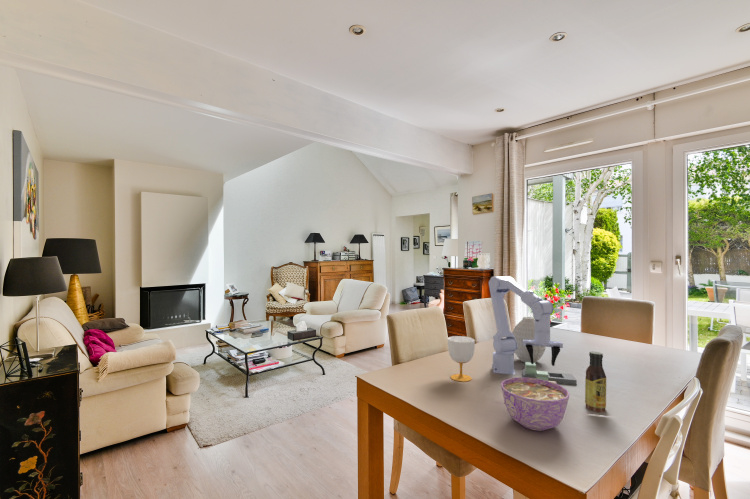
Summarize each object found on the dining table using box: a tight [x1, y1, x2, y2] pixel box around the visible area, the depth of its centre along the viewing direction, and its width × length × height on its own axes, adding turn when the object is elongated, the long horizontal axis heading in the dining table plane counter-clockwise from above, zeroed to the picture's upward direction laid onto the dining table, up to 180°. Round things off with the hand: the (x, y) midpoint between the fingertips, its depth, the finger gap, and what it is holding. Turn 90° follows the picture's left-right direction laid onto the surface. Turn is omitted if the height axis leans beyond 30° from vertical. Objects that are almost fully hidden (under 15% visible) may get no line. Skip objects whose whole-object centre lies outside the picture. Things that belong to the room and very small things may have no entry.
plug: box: [536, 370, 549, 381], centre depth 142 cm, size 4×4×6 cm
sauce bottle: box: [584, 350, 607, 413], centre depth 124 cm, size 7×6×20 cm
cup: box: [447, 335, 476, 383], centre depth 155 cm, size 12×12×17 cm
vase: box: [511, 316, 547, 364], centre depth 179 cm, size 16×16×22 cm
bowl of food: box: [500, 376, 570, 432], centre depth 113 cm, size 20×20×12 cm
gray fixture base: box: [521, 362, 578, 386], centre depth 152 cm, size 20×8×6 cm, turn 73°
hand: (542, 364), depth 143 cm, fingers open, 7 cm apart
